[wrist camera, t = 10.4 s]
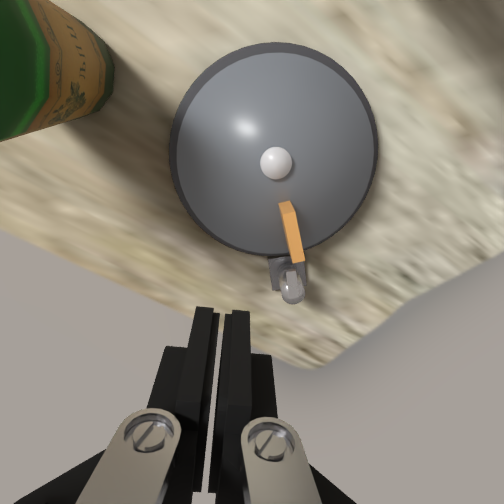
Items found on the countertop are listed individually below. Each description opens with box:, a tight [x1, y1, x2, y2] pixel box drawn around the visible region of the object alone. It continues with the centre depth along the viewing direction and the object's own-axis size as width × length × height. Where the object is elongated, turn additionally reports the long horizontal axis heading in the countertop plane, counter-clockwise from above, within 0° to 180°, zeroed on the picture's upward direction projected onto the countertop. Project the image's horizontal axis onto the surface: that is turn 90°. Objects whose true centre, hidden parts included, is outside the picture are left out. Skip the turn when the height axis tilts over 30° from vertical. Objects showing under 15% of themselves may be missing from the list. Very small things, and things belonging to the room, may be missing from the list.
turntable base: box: [169, 42, 378, 256], centre depth 40 cm, size 21×21×2 cm
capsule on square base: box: [268, 254, 307, 304], centre depth 43 cm, size 5×4×6 cm
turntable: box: [177, 53, 374, 263], centre depth 37 cm, size 19×19×6 cm
